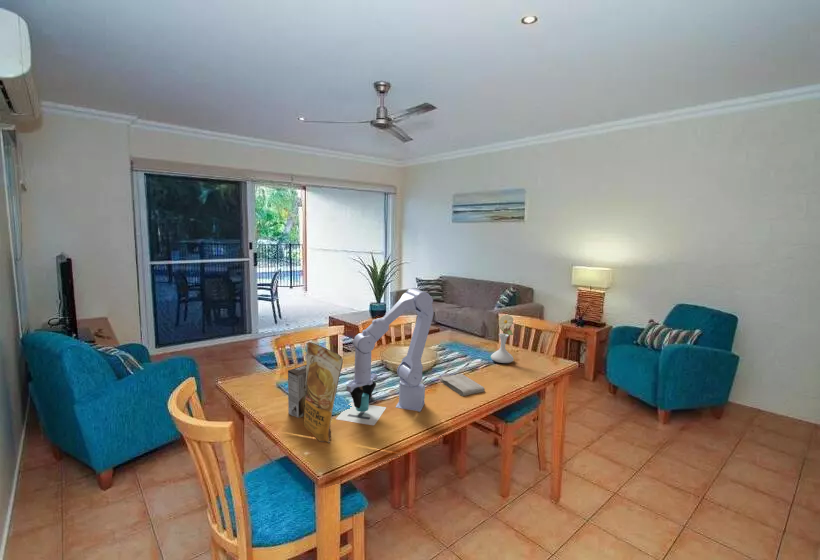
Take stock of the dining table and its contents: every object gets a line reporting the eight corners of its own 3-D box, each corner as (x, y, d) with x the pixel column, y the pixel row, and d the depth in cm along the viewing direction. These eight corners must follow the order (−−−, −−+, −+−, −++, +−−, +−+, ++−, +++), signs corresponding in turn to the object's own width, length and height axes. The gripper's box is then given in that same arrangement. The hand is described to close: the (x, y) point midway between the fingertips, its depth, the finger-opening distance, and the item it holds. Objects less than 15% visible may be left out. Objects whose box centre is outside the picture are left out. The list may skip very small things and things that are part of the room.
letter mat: (386, 408, 151) (386, 407, 151) (374, 426, 137) (374, 425, 137) (350, 403, 154) (351, 401, 154) (335, 420, 140) (335, 419, 140)
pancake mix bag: (315, 417, 142) (315, 339, 138) (343, 440, 128) (345, 354, 124) (296, 422, 138) (296, 342, 134) (324, 447, 124) (325, 358, 120)
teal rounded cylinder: (371, 408, 146) (371, 395, 145) (362, 412, 142) (362, 399, 141) (361, 404, 148) (362, 391, 148) (353, 408, 145) (353, 395, 144)
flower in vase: (486, 358, 211) (489, 310, 207) (505, 356, 214) (509, 310, 211) (499, 367, 199) (502, 316, 195) (519, 365, 202) (523, 316, 198)
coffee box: (308, 405, 151) (308, 363, 149) (319, 410, 147) (320, 367, 145) (287, 413, 144) (287, 369, 142) (298, 419, 140) (298, 374, 138)
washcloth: (459, 377, 185) (460, 371, 184) (486, 392, 169) (486, 385, 169) (437, 382, 179) (438, 375, 178) (463, 398, 163) (463, 390, 163)
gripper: (358, 376, 135) (357, 415, 137) (384, 364, 147) (383, 400, 149) (342, 371, 139) (341, 409, 141) (369, 360, 151) (368, 395, 153)
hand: (362, 404), depth 145 cm, fingers closed on teal rounded cylinder, 4 cm apart
